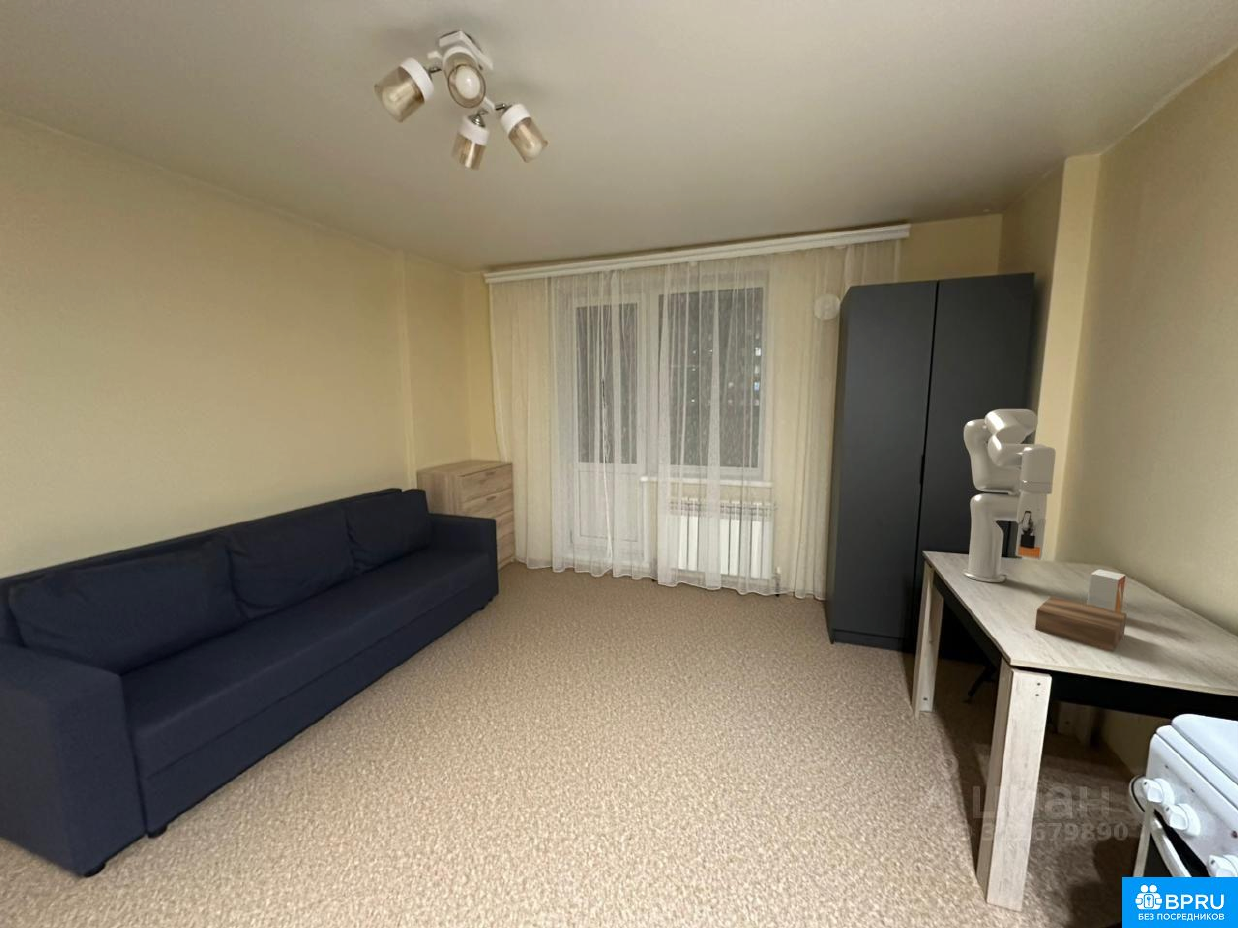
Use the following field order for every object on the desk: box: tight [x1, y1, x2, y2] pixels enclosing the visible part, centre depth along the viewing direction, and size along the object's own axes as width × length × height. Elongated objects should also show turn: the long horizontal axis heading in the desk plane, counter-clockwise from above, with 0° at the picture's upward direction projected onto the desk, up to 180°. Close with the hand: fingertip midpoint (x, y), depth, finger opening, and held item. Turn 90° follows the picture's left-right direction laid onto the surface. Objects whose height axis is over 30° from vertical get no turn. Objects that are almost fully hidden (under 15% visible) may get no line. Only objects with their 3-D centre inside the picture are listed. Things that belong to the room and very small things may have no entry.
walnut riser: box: [1034, 595, 1127, 652], centre depth 138 cm, size 16×16×6 cm
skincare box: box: [1015, 518, 1047, 561], centre depth 148 cm, size 6×4×12 cm
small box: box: [1086, 568, 1127, 613], centre depth 148 cm, size 8×6×13 cm
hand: (1029, 545), depth 148 cm, fingers closed on skincare box, 4 cm apart
